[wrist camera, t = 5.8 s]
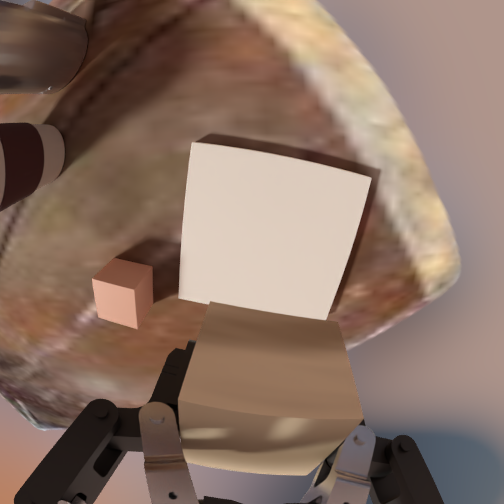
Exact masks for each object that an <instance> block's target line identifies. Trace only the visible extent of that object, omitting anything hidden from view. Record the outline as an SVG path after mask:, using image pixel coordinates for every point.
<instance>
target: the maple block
mask: <svg viewBox="0 0 504 504" xmlns="http://www.w3.org/2000/svg"><path fill="white" fill-rule="evenodd" d="M178 411H179V426H180V438H181V446H182V450H183V454H184V457H185V460H186V462H188V463H192V464H197V465H202V466H207V467H213V468H219V469H225V470H232V471H240V472H249V473H259V474H275V475H307V474H309V473H310V472H311V471H312V470H313V469H314V468H316V467H317V466H318V465H319V464H320V463H321V462H322V461H323V460H324V459H325V458H326V457H328V456H329V455H330V454H331V453H332V452H333V451H334V450H335V449H336V448H337V447H338V446H339V445H340V444H341V443H342V442H343V441H344V440H345V439H346V438H347V437H348V436H349V434H350V433H351V432H352V431H353V430H354V429H355V428H356V427H357V426H358V425H359V424H360V422H361V421H362V420H363V419H364V417H363V413H362V410H361V405H360V401H359V397H358V393H357V389H356V385H355V381H354V377H353V374H352V370H351V366H350V363H349V359H348V355H347V351H346V348H345V344H344V341H343V337H342V334H341V331H340V327H339V324H338V322H335V321H327V320H320V319H312V318H305V317H299V316H292V315H286V314H279V313H273V312H267V311H261V310H255V309H250V308H244V307H238V306H233V305H228V304H223V303H217V302H212V301H210V303H209V306H208V309H207V312H206V315H205V318H204V321H203V323H202V326H201V329H200V332H199V335H198V338H197V341H196V345H195V348H194V351H193V354H192V357H191V360H190V363H189V366H188V369H187V372H186V375H185V378H184V382H183V385H182V388H181V391H180V394H179V397H178Z"/></svg>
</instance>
